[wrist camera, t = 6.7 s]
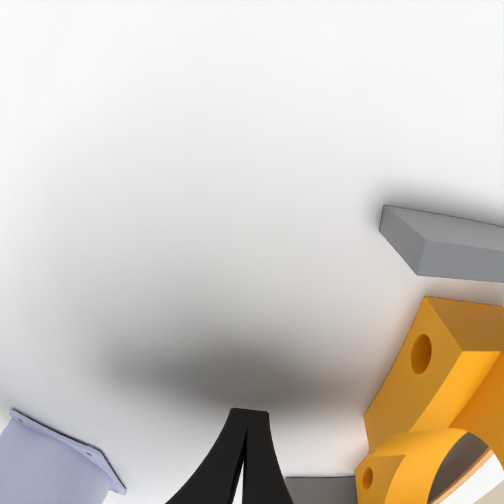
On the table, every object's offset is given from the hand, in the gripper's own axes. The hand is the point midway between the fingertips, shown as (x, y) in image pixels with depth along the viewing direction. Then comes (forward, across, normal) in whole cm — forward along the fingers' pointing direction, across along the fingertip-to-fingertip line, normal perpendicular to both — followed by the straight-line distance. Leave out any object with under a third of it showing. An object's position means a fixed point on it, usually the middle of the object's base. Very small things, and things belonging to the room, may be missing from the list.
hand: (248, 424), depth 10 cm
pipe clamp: (+2, -7, +1) cm, 8 cm away
